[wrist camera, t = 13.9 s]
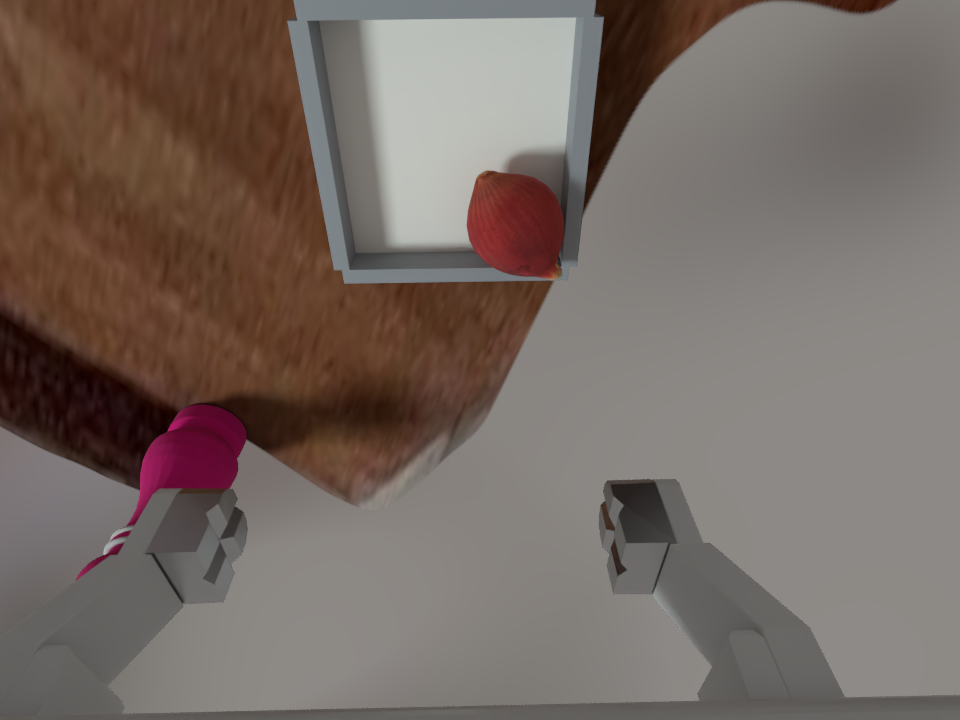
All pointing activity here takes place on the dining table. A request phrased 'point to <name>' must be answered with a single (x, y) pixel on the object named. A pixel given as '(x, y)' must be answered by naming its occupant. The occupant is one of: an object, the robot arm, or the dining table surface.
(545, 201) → the onion
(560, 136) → the stand
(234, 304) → the dining table surface
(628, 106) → the dining table surface
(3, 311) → the dining table surface
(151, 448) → the pepper mill
